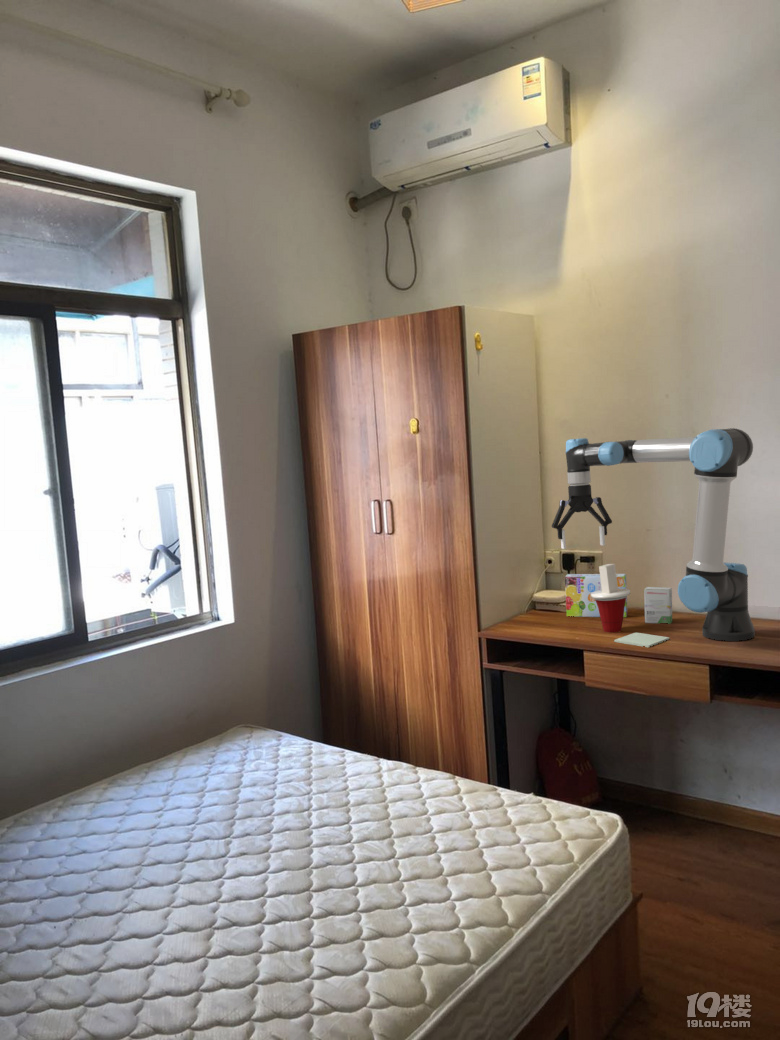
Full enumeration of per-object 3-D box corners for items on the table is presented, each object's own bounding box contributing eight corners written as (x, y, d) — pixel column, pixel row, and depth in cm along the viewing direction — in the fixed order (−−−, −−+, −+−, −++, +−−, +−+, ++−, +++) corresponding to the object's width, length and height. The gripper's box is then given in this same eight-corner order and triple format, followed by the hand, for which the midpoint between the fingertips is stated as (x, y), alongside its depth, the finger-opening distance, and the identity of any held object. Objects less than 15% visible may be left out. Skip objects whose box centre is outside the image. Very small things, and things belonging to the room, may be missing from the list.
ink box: (644, 623, 278) (643, 589, 277) (647, 619, 283) (646, 586, 282) (671, 624, 274) (669, 589, 273) (673, 620, 279) (672, 586, 278)
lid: (637, 591, 269) (634, 561, 268) (616, 599, 261) (612, 568, 260) (605, 591, 278) (601, 562, 278) (583, 598, 270) (579, 568, 270)
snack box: (628, 614, 293) (626, 573, 291) (626, 618, 287) (625, 575, 286) (568, 613, 300) (566, 573, 299) (565, 617, 295) (564, 575, 294)
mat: (669, 639, 255) (669, 637, 255) (648, 647, 247) (648, 645, 247) (635, 634, 264) (635, 632, 264) (614, 641, 256) (614, 639, 256)
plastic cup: (600, 625, 278) (599, 591, 277) (632, 627, 272) (631, 592, 271) (590, 633, 269) (589, 597, 268) (623, 635, 263) (622, 598, 262)
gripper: (611, 481, 279) (614, 542, 281) (540, 487, 277) (544, 549, 279) (619, 481, 272) (623, 544, 273) (546, 487, 270) (550, 551, 271)
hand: (583, 547), depth 276 cm, fingers open, 13 cm apart
